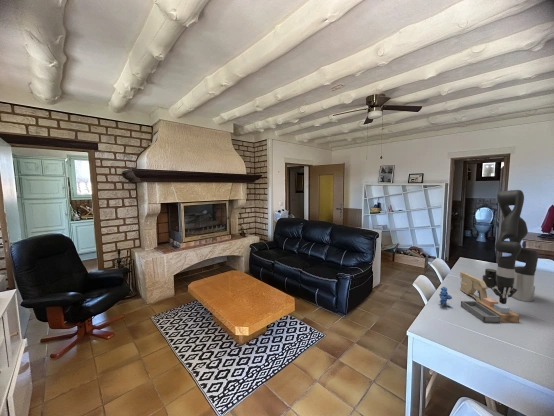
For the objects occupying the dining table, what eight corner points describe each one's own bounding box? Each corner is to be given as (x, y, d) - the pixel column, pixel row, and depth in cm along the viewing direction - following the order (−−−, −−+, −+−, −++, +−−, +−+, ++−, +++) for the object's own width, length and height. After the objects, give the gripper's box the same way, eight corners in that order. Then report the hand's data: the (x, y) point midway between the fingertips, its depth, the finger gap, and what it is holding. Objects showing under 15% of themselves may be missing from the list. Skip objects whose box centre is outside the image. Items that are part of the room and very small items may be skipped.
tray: (474, 306, 141) (475, 301, 141) (500, 323, 124) (500, 316, 124) (460, 306, 142) (461, 300, 141) (483, 322, 125) (484, 316, 124)
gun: (488, 307, 140) (488, 282, 140) (482, 306, 141) (482, 282, 141) (464, 292, 164) (464, 271, 164) (459, 292, 165) (459, 271, 164)
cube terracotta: (491, 303, 137) (491, 298, 137) (497, 306, 133) (498, 301, 133) (483, 302, 138) (483, 298, 137) (489, 306, 133) (490, 301, 133)
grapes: (450, 311, 136) (452, 291, 135) (437, 307, 140) (438, 288, 139) (452, 303, 145) (453, 285, 144) (439, 300, 149) (440, 282, 148)
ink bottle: (492, 283, 174) (493, 268, 173) (502, 288, 165) (504, 272, 164) (478, 283, 175) (479, 267, 174) (487, 288, 166) (489, 272, 165)
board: (494, 308, 139) (495, 301, 139) (519, 322, 124) (519, 315, 124) (477, 307, 140) (477, 301, 140) (499, 322, 125) (500, 315, 125)
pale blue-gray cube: (501, 309, 131) (502, 304, 130) (509, 313, 126) (509, 308, 126) (493, 309, 131) (493, 303, 131) (500, 313, 126) (501, 308, 126)
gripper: (511, 272, 136) (508, 300, 138) (487, 272, 137) (485, 300, 139) (523, 277, 129) (520, 307, 131) (499, 277, 130) (496, 306, 131)
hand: (502, 303), depth 135 cm, fingers closed
